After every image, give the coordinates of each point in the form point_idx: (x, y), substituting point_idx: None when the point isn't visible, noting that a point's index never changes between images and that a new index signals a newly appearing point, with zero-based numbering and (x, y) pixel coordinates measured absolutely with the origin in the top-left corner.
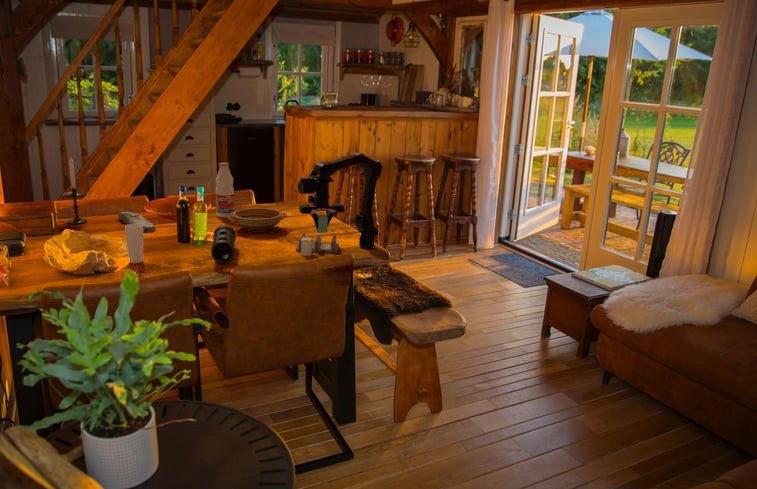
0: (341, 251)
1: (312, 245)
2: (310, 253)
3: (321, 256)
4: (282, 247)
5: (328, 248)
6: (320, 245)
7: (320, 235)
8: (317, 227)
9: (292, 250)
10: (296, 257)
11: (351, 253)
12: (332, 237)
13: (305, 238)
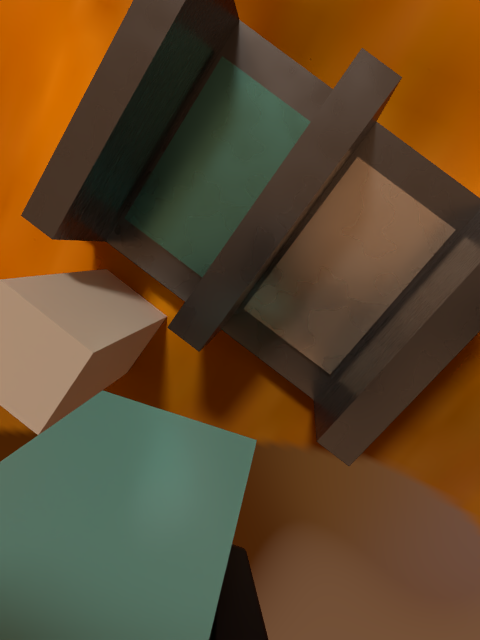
0: (427, 403)
1: (239, 179)
2: (122, 373)
3: None
4: (11, 38)
5: (327, 343)
6: (312, 217)
7: (368, 115)
8: None
9: None
10: None
11: (469, 493)
12: (459, 286)
13: (14, 340)
